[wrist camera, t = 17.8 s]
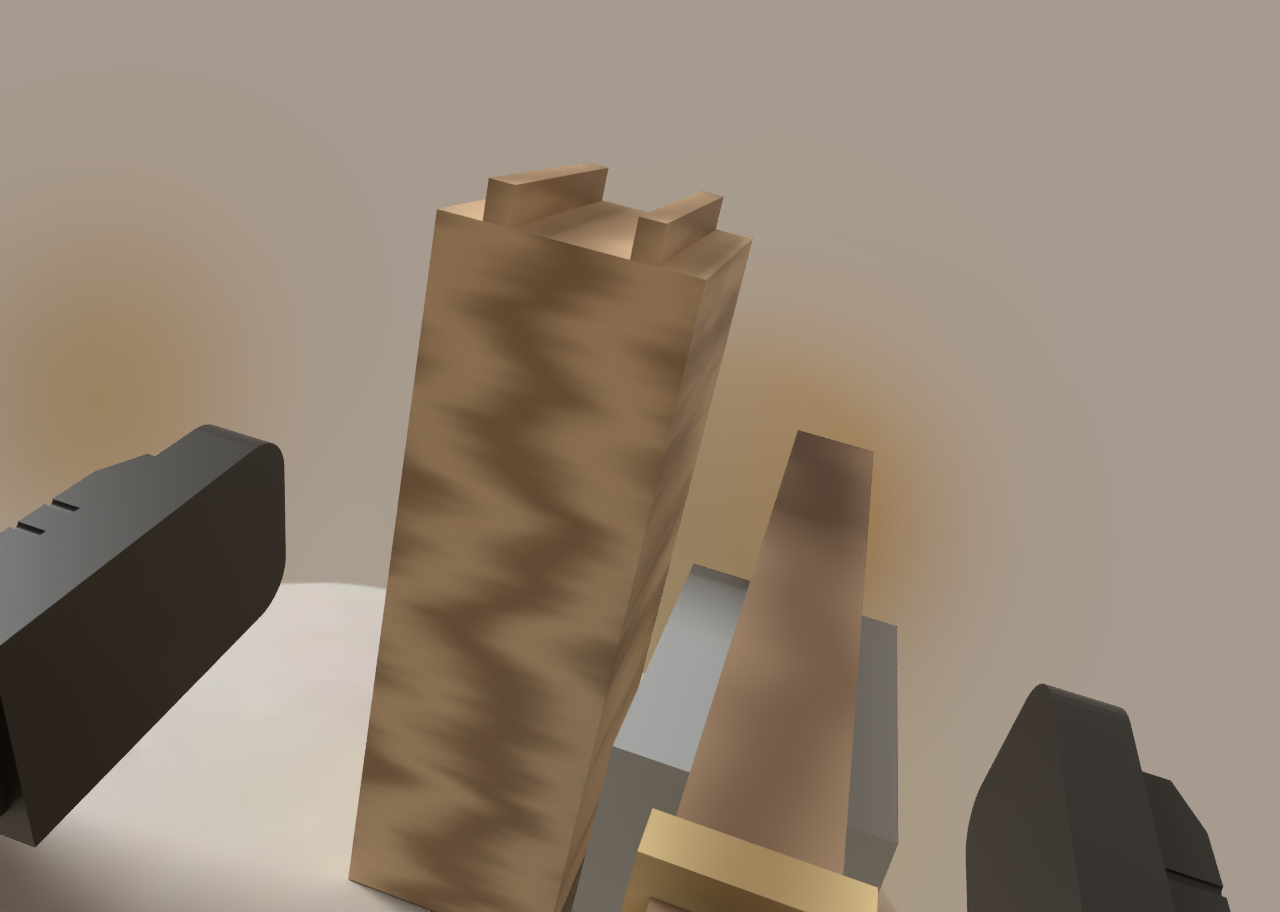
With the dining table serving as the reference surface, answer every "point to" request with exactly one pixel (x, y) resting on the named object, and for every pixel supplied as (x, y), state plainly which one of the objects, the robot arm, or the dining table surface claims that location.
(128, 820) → the dining table surface
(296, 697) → the dining table surface
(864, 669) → the grey block
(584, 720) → the oak stand
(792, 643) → the walnut bar
